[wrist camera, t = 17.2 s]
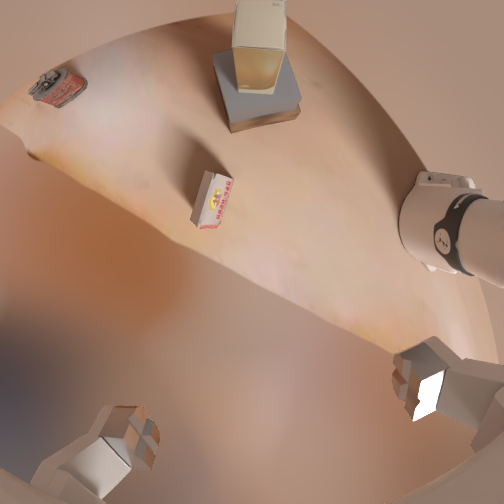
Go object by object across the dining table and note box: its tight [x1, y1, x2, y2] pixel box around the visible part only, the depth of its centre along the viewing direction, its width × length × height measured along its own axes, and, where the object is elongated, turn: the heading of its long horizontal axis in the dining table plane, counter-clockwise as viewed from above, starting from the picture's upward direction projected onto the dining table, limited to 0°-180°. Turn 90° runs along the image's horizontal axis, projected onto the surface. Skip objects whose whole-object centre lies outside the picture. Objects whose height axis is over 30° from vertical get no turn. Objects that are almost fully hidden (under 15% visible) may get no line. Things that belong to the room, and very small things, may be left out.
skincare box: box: [232, 0, 286, 95], centre depth 21 cm, size 6×4×12 cm, turn 177°
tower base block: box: [213, 66, 301, 133], centre depth 35 cm, size 10×10×5 cm
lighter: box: [28, 67, 88, 108], centre depth 30 cm, size 8×3×10 cm, turn 111°
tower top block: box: [211, 49, 302, 123], centre depth 30 cm, size 9×9×5 cm
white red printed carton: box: [190, 171, 234, 229], centre depth 35 cm, size 4×7×10 cm, turn 162°
